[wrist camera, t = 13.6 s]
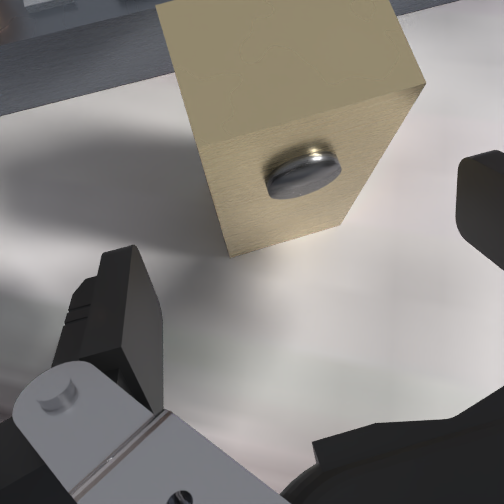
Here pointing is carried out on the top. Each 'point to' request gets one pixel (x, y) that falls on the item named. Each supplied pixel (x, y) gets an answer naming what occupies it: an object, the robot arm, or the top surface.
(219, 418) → the top surface
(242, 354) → the top surface
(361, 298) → the top surface
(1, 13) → the plane body
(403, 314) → the top surface
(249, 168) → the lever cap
